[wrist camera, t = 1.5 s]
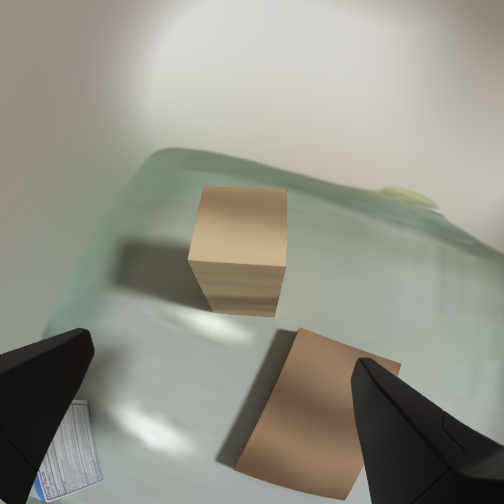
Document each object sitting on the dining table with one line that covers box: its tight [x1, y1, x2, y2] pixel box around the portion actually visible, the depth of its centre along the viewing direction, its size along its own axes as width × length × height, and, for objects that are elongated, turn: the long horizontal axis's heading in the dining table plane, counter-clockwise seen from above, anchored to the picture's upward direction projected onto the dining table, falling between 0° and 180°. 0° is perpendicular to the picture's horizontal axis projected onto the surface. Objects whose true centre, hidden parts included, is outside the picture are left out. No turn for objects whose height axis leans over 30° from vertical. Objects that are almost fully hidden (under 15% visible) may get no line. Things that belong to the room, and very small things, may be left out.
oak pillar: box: [188, 186, 287, 317], centre depth 19 cm, size 5×5×10 cm
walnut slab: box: [234, 328, 401, 500], centre depth 18 cm, size 12×9×2 cm
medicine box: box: [29, 400, 103, 503], centre depth 13 cm, size 8×4×9 cm, turn 11°
